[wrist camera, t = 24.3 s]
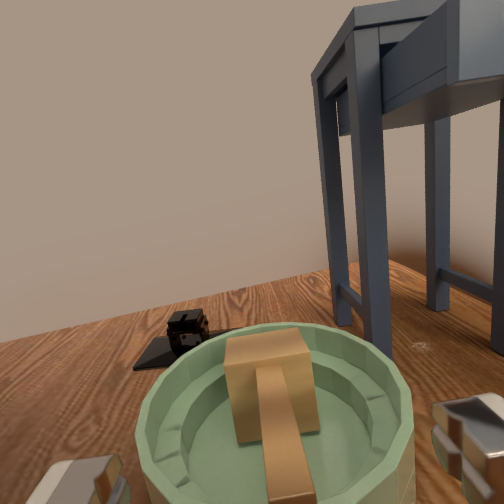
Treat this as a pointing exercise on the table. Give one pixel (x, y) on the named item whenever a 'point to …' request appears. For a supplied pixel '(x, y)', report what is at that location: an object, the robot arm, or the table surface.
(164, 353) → the black slotted stand
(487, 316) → the table surface
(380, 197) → the nightstand
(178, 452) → the bowl
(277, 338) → the mallet
